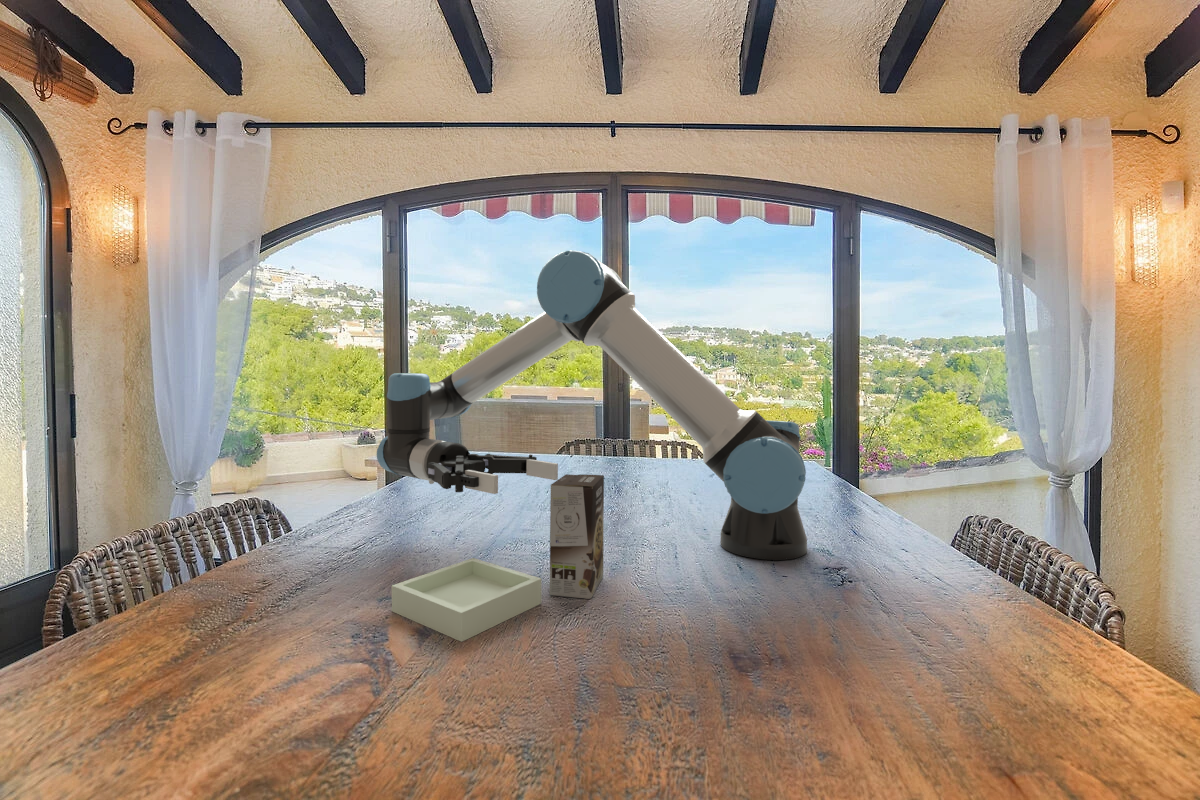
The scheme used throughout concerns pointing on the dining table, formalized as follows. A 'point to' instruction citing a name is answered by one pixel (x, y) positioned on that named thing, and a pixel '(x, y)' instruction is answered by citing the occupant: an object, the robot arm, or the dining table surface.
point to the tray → (466, 597)
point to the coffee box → (576, 535)
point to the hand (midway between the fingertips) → (528, 477)
